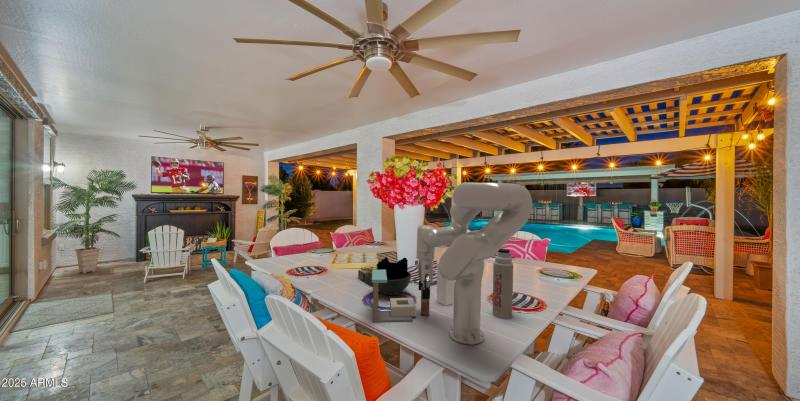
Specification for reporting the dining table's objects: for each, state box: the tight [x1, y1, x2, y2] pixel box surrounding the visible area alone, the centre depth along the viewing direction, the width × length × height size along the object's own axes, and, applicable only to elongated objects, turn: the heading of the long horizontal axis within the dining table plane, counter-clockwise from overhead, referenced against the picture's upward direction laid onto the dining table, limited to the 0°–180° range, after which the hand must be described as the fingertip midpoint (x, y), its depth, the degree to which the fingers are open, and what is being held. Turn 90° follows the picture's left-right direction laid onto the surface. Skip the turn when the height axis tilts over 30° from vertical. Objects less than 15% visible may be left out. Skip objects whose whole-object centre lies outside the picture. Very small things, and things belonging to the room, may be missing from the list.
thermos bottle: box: [492, 248, 514, 320], centre depth 125 cm, size 8×8×28 cm
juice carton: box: [357, 267, 376, 288], centre depth 170 cm, size 20×10×6 cm, turn 33°
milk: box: [436, 260, 455, 307], centre depth 138 cm, size 6×6×22 cm
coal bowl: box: [375, 256, 412, 296], centre depth 149 cm, size 20×20×19 cm
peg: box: [420, 286, 431, 318], centre depth 124 cm, size 4×4×12 cm
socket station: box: [372, 269, 417, 324], centre depth 125 cm, size 16×18×17 cm
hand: (424, 294), depth 125 cm, fingers open, 9 cm apart
